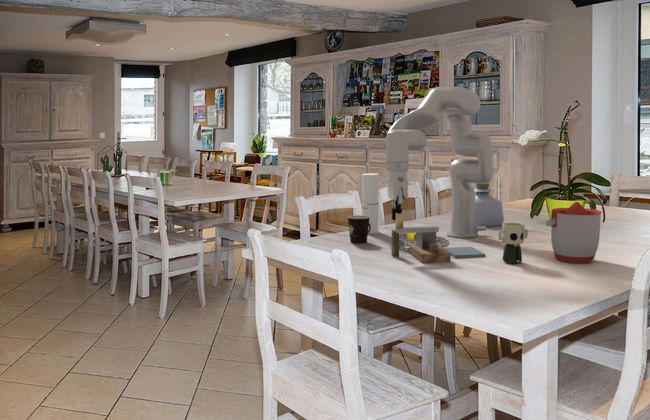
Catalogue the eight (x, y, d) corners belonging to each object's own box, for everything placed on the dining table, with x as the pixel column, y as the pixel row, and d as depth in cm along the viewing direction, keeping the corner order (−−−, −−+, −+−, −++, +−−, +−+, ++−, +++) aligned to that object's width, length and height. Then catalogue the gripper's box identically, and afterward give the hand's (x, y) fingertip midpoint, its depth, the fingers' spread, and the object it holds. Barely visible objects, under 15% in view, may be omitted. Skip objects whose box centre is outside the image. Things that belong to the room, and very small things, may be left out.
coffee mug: (346, 240, 246) (346, 215, 245) (367, 239, 247) (367, 215, 246) (350, 246, 235) (350, 220, 234) (372, 245, 236) (372, 219, 234)
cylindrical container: (377, 234, 260) (377, 174, 256) (360, 233, 261) (360, 174, 258) (379, 231, 267) (379, 173, 263) (363, 230, 268) (363, 173, 264)
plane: (429, 247, 230) (429, 223, 229) (450, 262, 207) (451, 235, 206) (384, 249, 228) (384, 225, 227) (401, 263, 205) (401, 237, 203)
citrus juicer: (539, 254, 217) (541, 198, 214) (590, 255, 215) (593, 198, 212) (550, 265, 201) (553, 204, 199) (605, 265, 200) (609, 204, 197)
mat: (471, 249, 227) (471, 246, 227) (485, 256, 214) (485, 254, 214) (442, 250, 225) (442, 247, 225) (454, 258, 213) (455, 255, 213)
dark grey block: (429, 244, 222) (429, 227, 221) (436, 248, 214) (436, 231, 213) (415, 244, 221) (415, 228, 220) (422, 249, 213) (422, 232, 212)
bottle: (503, 221, 291) (504, 181, 288) (505, 228, 272) (506, 185, 269) (459, 220, 295) (460, 180, 293) (458, 226, 276) (459, 184, 274)
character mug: (503, 266, 201) (504, 226, 199) (492, 261, 207) (493, 223, 206) (532, 263, 204) (534, 224, 202) (520, 259, 210) (521, 221, 209)
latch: (436, 230, 213) (436, 211, 212) (438, 231, 210) (439, 212, 209) (394, 232, 211) (394, 212, 210) (396, 233, 208) (396, 214, 208)
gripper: (413, 168, 203) (413, 223, 206) (402, 165, 218) (402, 216, 221) (391, 168, 202) (391, 223, 205) (381, 165, 217) (381, 216, 220)
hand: (396, 219), depth 213 cm, fingers closed
